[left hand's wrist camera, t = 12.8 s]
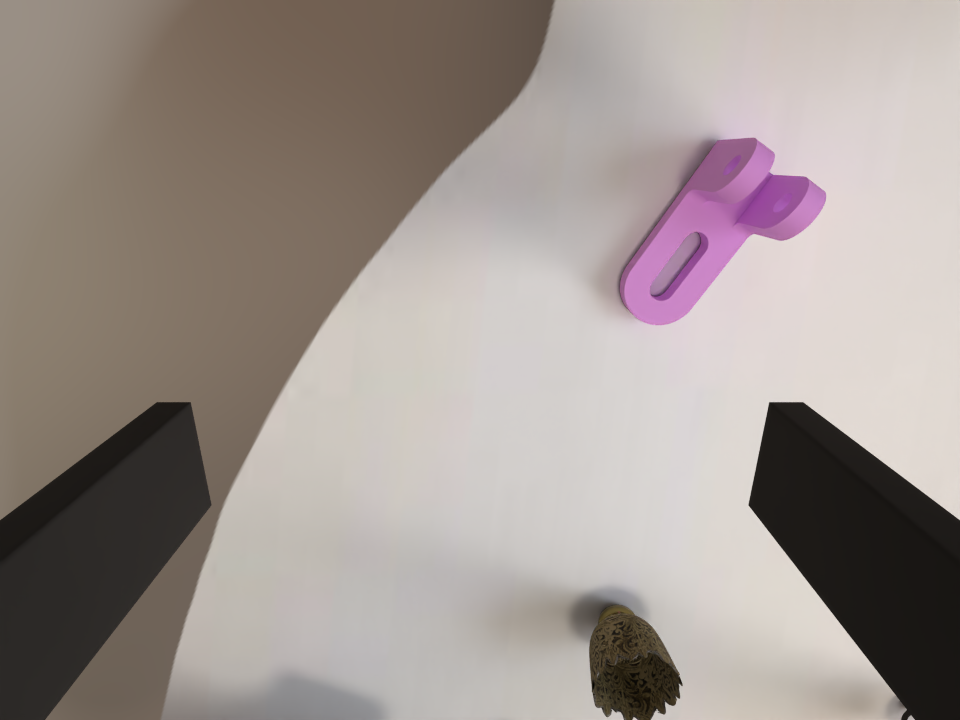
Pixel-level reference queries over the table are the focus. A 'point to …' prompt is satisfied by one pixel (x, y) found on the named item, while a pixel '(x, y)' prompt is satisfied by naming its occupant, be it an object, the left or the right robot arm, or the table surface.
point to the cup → (630, 666)
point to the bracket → (717, 225)
